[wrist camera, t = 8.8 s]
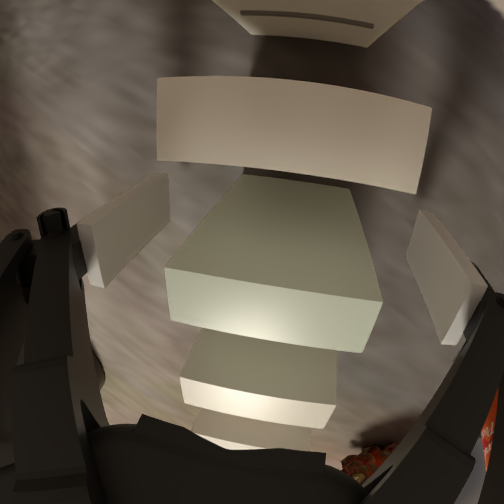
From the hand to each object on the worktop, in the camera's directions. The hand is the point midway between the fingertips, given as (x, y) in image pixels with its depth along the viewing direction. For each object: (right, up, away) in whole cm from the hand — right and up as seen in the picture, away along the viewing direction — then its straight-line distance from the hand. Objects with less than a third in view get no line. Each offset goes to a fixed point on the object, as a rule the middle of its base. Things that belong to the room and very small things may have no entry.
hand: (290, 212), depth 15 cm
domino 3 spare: (0, +1, +2) cm, 2 cm away
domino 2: (0, -3, +4) cm, 5 cm away
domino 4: (+1, +5, -1) cm, 5 cm away
